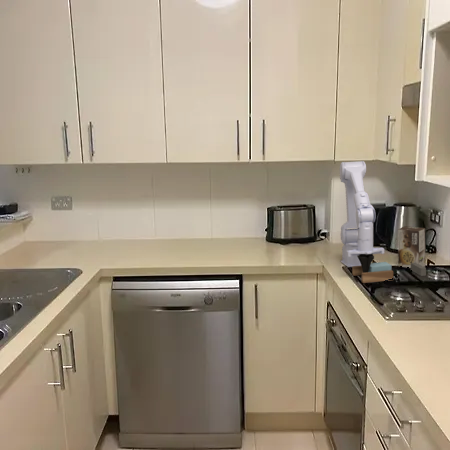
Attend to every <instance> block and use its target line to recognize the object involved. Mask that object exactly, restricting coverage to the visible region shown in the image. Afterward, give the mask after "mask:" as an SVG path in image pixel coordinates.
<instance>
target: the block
mask: <svg viewBox="0 0 450 450" xmlns="http://www.w3.org/2000/svg"><path fill="white" fill-rule="evenodd" d="M387 270H392V264H390V263H389V262H386V261H381V262H371V264H370V267H369V271H368V272H377V271H387Z"/></svg>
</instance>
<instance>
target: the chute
mask: <svg viewBox="0 0 450 450" xmlns="http://www.w3.org/2000/svg"><path fill="white" fill-rule="evenodd" d="M351 268H352V269H351V271H352V272H351V273H352V274H351V275H352V276H353V277H354V276H361V283H362V284H366V283H376V282H377V283H378V282H384V281H385V280H388V279H392V278H393V279H394V271H393V270H392V269H391V270H387V271H377V272H367V273H364V272H363V270H362V266H352V267H351ZM388 281H389V280H388ZM385 282H386V281H385Z"/></svg>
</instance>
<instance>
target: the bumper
mask: <svg viewBox="0 0 450 450" xmlns="http://www.w3.org/2000/svg"><path fill="white" fill-rule="evenodd" d="M411 270H412V272H413V273H415V274H417V275H418V276H420V277H424V276H427V268H426V266H424V267H423V266H421V265H419V264H417V263H411V268H410V271H411Z"/></svg>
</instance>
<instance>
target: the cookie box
mask: <svg viewBox="0 0 450 450" xmlns="http://www.w3.org/2000/svg"><path fill="white" fill-rule="evenodd" d="M397 234H398V235H397V240H398V241H397V245H398V246H397V248H398V250H397V259H398V260H397V261H398V262H397V263H398V265H397V266H398V267H400V266H402V268H407V267H409V268H408V269H411V263H417V264H419V265H421V266H423V267H426V228H425V227H416V226H415V227H414V226H405V225H404V226H402V227H401V228H398V229H397Z"/></svg>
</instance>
